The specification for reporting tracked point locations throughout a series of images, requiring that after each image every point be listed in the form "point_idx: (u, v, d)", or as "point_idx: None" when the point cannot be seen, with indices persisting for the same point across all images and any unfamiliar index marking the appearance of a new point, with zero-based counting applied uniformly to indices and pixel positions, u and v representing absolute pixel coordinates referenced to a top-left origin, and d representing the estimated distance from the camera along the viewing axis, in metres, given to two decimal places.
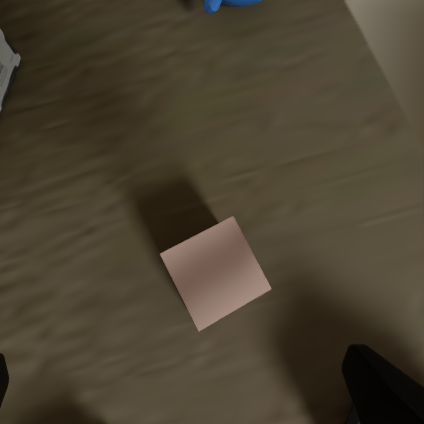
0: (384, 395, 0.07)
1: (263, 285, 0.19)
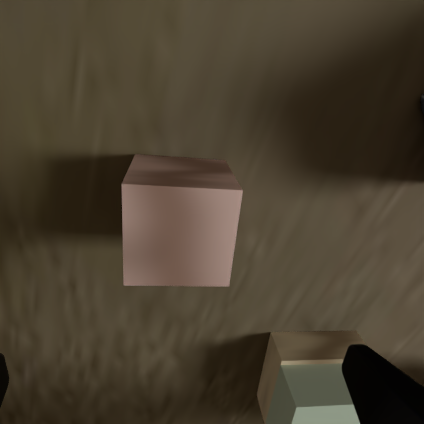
0: (384, 395, 0.07)
1: (232, 197, 0.13)
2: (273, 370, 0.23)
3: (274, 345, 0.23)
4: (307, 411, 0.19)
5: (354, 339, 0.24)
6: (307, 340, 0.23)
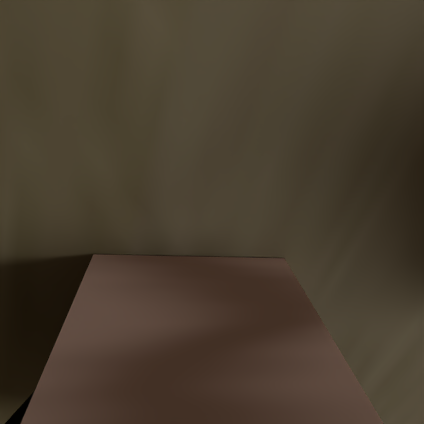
0: None
1: None
2: None
3: None
4: None
5: None
6: None
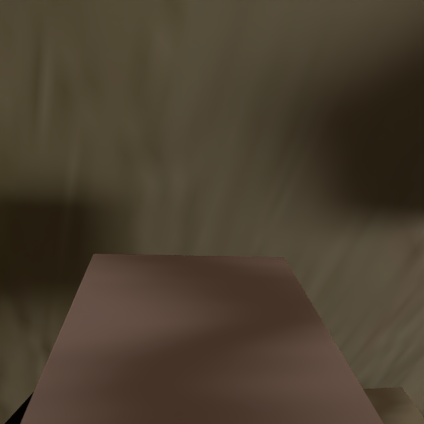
0: None
1: None
2: None
3: None
4: None
5: (402, 401, 0.19)
6: None
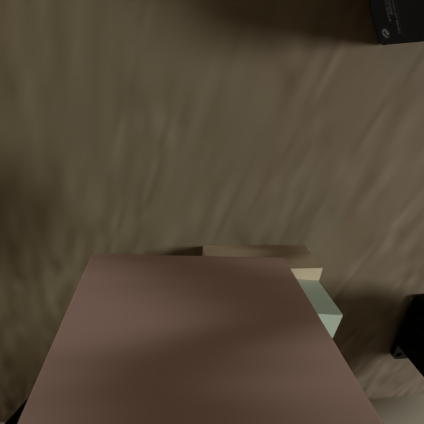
0: None
1: None
2: None
3: None
4: None
5: (301, 252, 0.20)
6: (244, 253, 0.20)
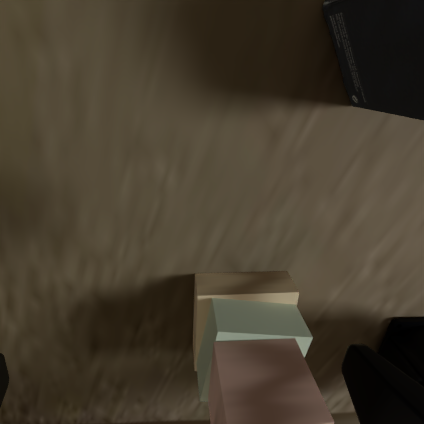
0: (384, 395, 0.07)
1: None
2: (195, 310, 0.22)
3: (195, 284, 0.22)
4: (229, 337, 0.18)
5: (282, 277, 0.23)
6: (231, 278, 0.22)
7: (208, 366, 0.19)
